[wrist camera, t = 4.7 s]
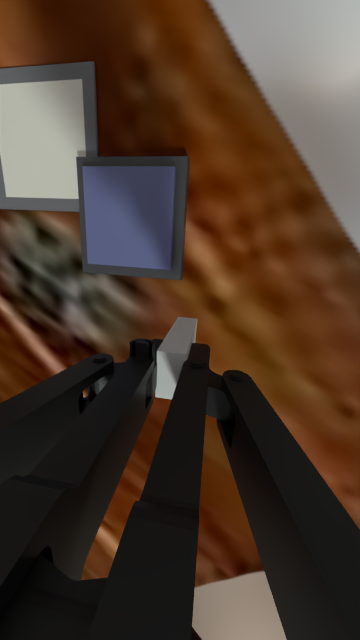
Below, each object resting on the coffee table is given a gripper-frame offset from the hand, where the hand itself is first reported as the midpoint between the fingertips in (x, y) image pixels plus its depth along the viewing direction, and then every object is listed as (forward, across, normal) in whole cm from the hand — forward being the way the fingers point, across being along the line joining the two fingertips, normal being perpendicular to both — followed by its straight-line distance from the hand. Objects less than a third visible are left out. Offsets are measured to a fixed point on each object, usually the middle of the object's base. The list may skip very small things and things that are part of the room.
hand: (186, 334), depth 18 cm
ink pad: (+8, -7, +9) cm, 14 cm away
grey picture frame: (+8, -17, +16) cm, 25 cm away
